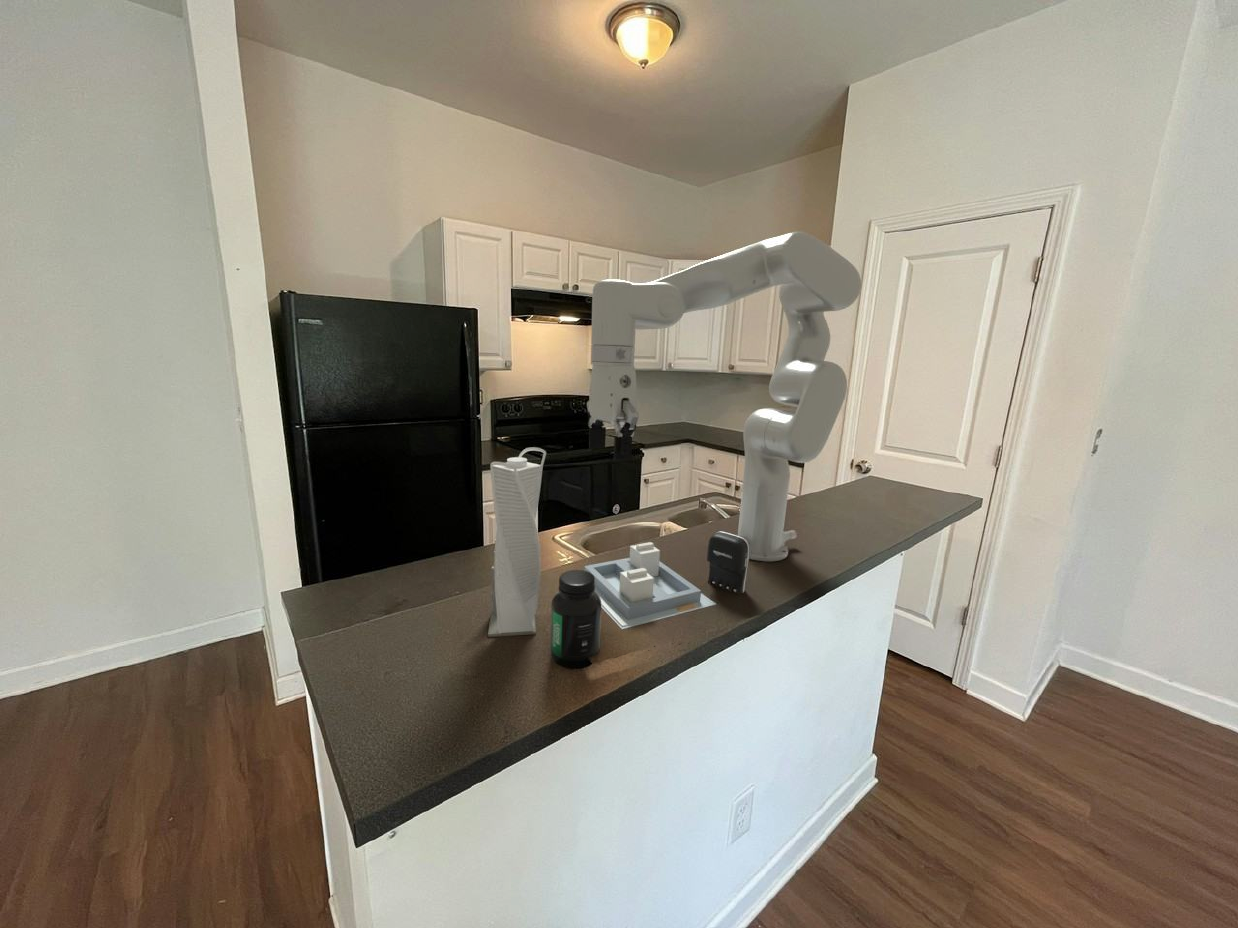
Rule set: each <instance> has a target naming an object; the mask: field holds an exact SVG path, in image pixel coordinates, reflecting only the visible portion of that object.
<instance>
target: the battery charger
mask: <svg viewBox="0 0 1238 928" xmlns="http://www.w3.org/2000/svg"><path fill="white" fill-rule="evenodd" d="M707 543H708V544H707V551H706V552H707V553H706V562H709V569H708V570H709V571H708V573H709V574H708V578H707V580H708V581H707V584H709V585H710V584H712V585H714V587H721V589H722V590H726V589H727V590H728V592H729V593H733V592H734V593H736V595H741V594H743V593H745V588H746V581H747V575H748V570H749V564H750V563H749V562H750V559H749V553H750V545H749V542H748V540H747V539H745V538H744V537H741V536H738V534H733V533H731V532H727V531H718V532H715V534H713V535H712V536H710V538H709V540H708V542H707Z"/></svg>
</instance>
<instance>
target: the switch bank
mask: <svg viewBox="0 0 1238 928" xmlns="http://www.w3.org/2000/svg"><path fill="white" fill-rule="evenodd" d="M629 560H630V557H627V558H626V557H625V558H622V559H621V558H620V559H615V560H614V559H613V560H610V561H605V562H600V563H594V564H593V563H592V564H588V565H584V567H583V568H584V569H583V570H584V571H587V572H590V573H591V574H593V575H594V577H595V592H596V593H597V594H598V595H599V597H600V599H601V610H603V611H604V612H605V613H606V614H607V615H608V616H609V617H610V618H611V619H612V620H613V621H614V623H616V625H617V626H618V627H619V628H620V629H621V630H626V629H629V628H632V627H636V626H640V625H643V624H648V623H651V622H655V621H659V620H663V619H666V618H671V617H674V616H677V615H682V614H684V613H685V614H686V613H689V612H692V611H696V610H700V609H704V608H708V607H711V606H715V605H717V603H716V602H714V601H713V600H711V599H710V598H708V597H707V596H706V595H705V594H704V593H702V590H701V589H699V587H696V586H695V585H694V584H692V582H689V581H688V580H687V579H685V578H684V577H683V576H681V575H680V574H679V573H677V572H675V571H674V570H673V569H671V567H669V566H667V565H665V563H663V562H662V561H660V560H659V572H658V576H655V577H653V578H654V585H653V598H651V599H647V600H643V601H639V602H634V603H631V602H629V601H628V600H627V599H626V598H625V597H624V596H623V595H622V594H621V593H620V592H619V589H620V572H625V571H630V570H635V569H636V568H635V567H633V566H632V565H631V564H630V563H629Z"/></svg>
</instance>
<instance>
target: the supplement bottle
mask: <svg viewBox="0 0 1238 928" xmlns="http://www.w3.org/2000/svg"><path fill="white" fill-rule="evenodd" d="M550 604H551V605H550V607H551V610H550V614H551V615H550V618H551V620H550V633H551V634H550V655H551V659H552V660H553V662H554V663H555V664H556V665H558V666H559V667H560V668H563V669H566V670H583V669H585V668H588V667H591V666H592V665H593V662H592V661H591V658H593V657H595V656H596V655H597V654H598V652H599V651H600V647H601V630H602V629H601V624H602V607H601V599H600V597H599V595H598V594H597V593H596V592H595V577H594V575H593V574H591V573H590V572H587V571H584V569H573V570H571V569H570V570H567V571H564V572H562V573H561V574H560V575H559V578H558V591H557V592H556V593H555V594H554V596H553V598H552V600H551V603H550Z"/></svg>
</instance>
